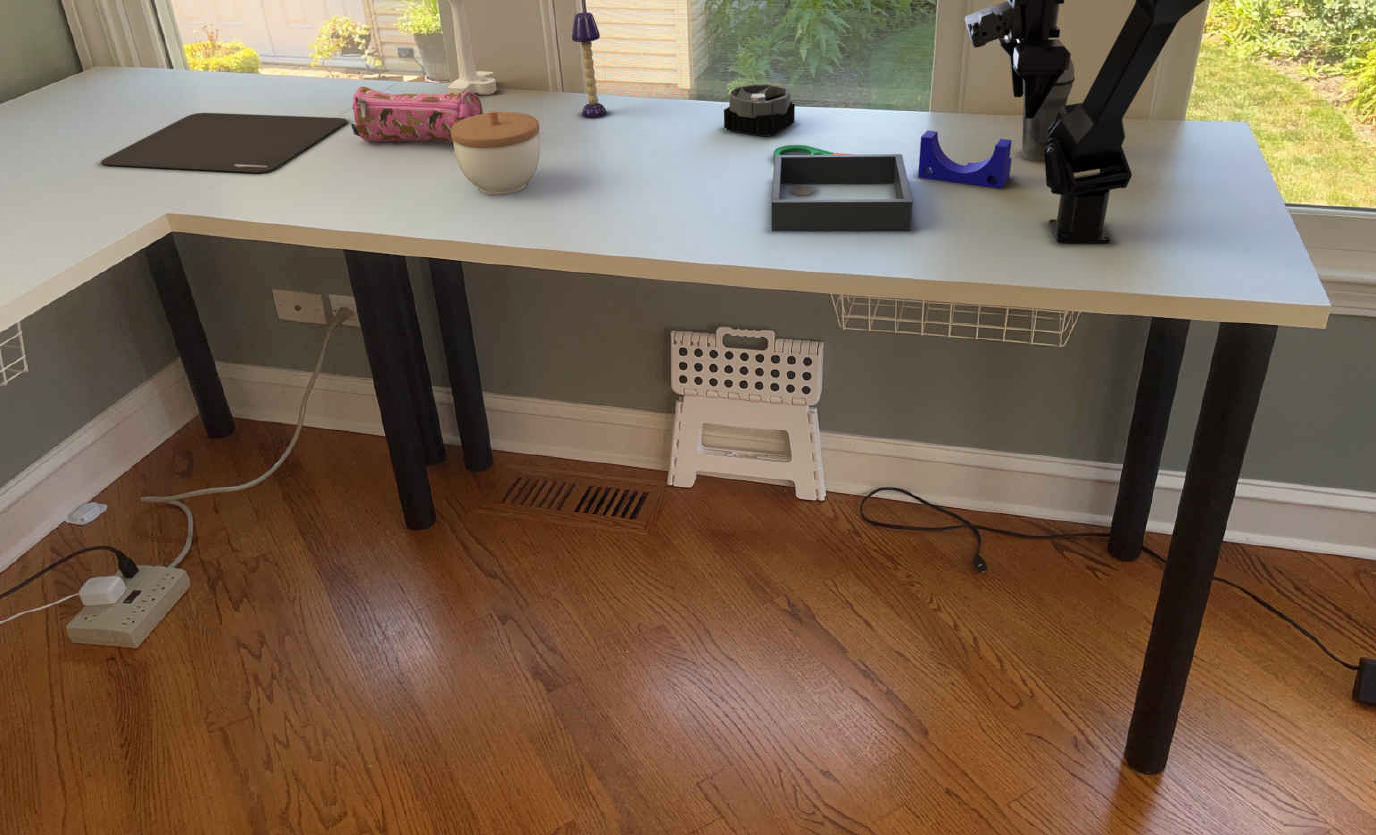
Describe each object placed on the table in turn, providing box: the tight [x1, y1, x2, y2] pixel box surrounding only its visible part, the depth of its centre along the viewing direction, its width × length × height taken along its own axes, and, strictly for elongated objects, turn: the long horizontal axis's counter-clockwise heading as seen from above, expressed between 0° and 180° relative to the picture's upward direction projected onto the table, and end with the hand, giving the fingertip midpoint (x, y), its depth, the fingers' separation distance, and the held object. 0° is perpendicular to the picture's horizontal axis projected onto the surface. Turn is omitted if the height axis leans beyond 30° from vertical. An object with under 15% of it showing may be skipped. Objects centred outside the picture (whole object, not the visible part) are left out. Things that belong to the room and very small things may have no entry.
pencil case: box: [350, 86, 484, 144], centre depth 179 cm, size 21×9×9 cm, turn 74°
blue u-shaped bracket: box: [917, 129, 1013, 190], centre depth 157 cm, size 12×4×6 cm, turn 62°
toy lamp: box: [571, 11, 607, 119], centre depth 186 cm, size 5×5×17 cm
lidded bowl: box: [451, 110, 541, 195], centre depth 160 cm, size 13×13×11 cm
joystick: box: [446, 0, 497, 96], centre depth 199 cm, size 11×8×20 cm
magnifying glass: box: [773, 144, 859, 157], centre depth 165 cm, size 15×6×2 cm, turn 66°
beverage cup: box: [1021, 38, 1076, 162], centre depth 159 cm, size 7×7×20 cm
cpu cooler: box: [723, 83, 796, 137], centre depth 179 cm, size 10×6×10 cm
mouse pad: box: [100, 112, 348, 174], centre depth 185 cm, size 32×27×1 cm
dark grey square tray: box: [770, 153, 913, 232], centre depth 150 cm, size 18×18×4 cm
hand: (1023, 107), depth 146 cm, fingers open, 9 cm apart
